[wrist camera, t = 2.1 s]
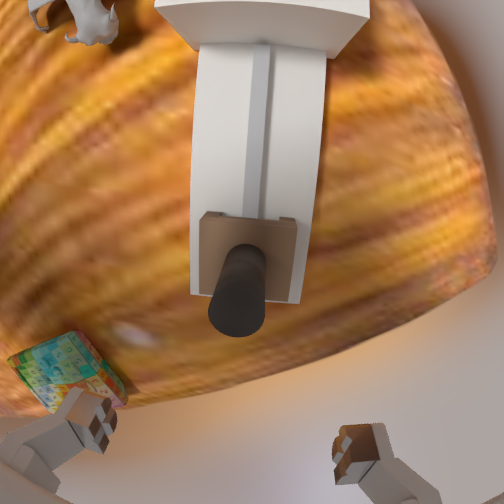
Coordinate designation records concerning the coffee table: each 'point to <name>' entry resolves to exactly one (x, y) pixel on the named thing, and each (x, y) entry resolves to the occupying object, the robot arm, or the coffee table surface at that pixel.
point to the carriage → (244, 268)
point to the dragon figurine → (85, 20)
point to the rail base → (260, 108)
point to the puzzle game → (66, 370)
